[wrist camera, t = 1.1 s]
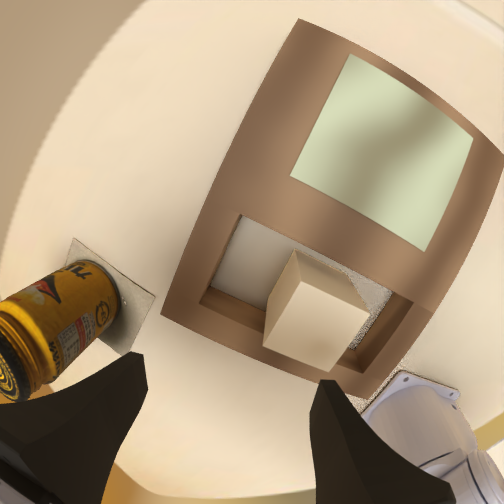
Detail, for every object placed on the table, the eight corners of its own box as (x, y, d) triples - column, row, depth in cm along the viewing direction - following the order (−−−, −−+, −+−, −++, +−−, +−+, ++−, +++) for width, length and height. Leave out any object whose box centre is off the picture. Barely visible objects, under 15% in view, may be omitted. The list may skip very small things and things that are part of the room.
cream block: (346, 273, 19) (370, 313, 13) (317, 321, 20) (328, 372, 14) (294, 248, 19) (301, 280, 13) (267, 298, 20) (262, 345, 14)
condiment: (74, 237, 20) (-42, 288, 9) (155, 296, 21) (62, 399, 9) (57, 302, 22) (-31, 366, 11) (127, 356, 23) (55, 450, 11)
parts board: (482, 157, 16) (509, 157, 13) (359, 376, 21) (368, 402, 18) (296, 38, 15) (298, 16, 12) (175, 295, 21) (158, 316, 18)
